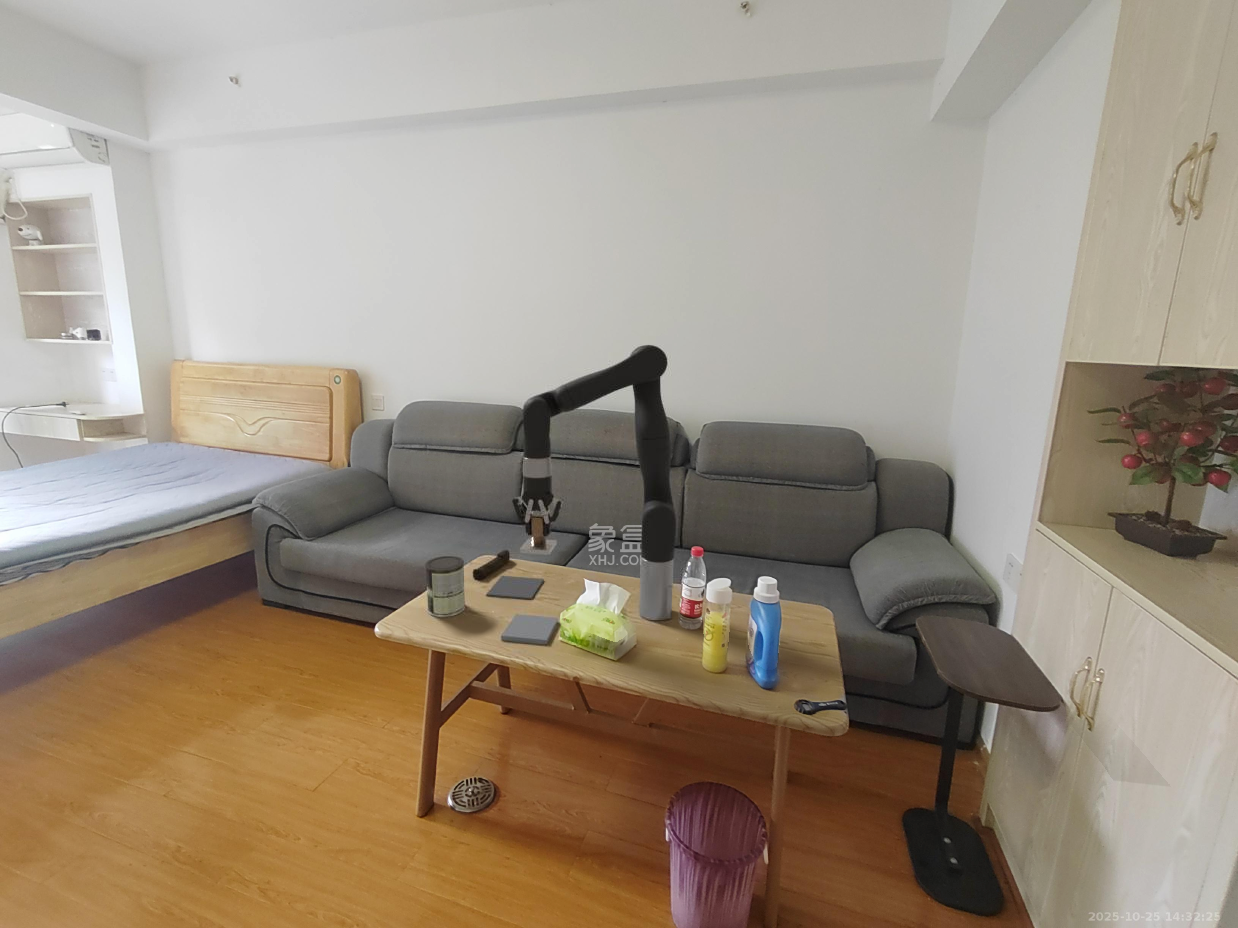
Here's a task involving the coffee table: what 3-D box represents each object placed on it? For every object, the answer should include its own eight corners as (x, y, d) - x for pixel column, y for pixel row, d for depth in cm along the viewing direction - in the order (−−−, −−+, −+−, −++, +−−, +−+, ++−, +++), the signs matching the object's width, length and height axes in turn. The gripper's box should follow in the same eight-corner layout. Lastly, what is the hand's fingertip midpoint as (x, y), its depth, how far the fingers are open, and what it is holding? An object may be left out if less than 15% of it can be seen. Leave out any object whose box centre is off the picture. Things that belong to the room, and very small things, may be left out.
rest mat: (543, 580, 179) (543, 578, 179) (531, 599, 165) (531, 597, 165) (501, 577, 181) (501, 575, 181) (486, 595, 167) (486, 594, 167)
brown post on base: (556, 544, 154) (556, 512, 152) (549, 554, 146) (549, 521, 144) (528, 542, 155) (527, 511, 153) (519, 552, 147) (519, 519, 145)
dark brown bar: (482, 582, 177) (482, 568, 176) (472, 579, 179) (471, 566, 178) (516, 562, 194) (515, 549, 193) (506, 560, 196) (506, 547, 195)
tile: (558, 617, 152) (546, 639, 141) (558, 623, 153) (546, 646, 141) (515, 613, 154) (501, 635, 142) (515, 619, 154) (501, 641, 143)
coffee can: (419, 612, 156) (417, 565, 153) (445, 597, 165) (443, 553, 162) (447, 620, 152) (445, 572, 149) (472, 605, 161) (471, 559, 158)
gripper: (566, 471, 149) (567, 532, 153) (515, 469, 151) (517, 529, 154) (560, 477, 142) (560, 541, 145) (506, 475, 144) (508, 538, 147)
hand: (538, 534), depth 150 cm, fingers closed on brown post on base, 4 cm apart
